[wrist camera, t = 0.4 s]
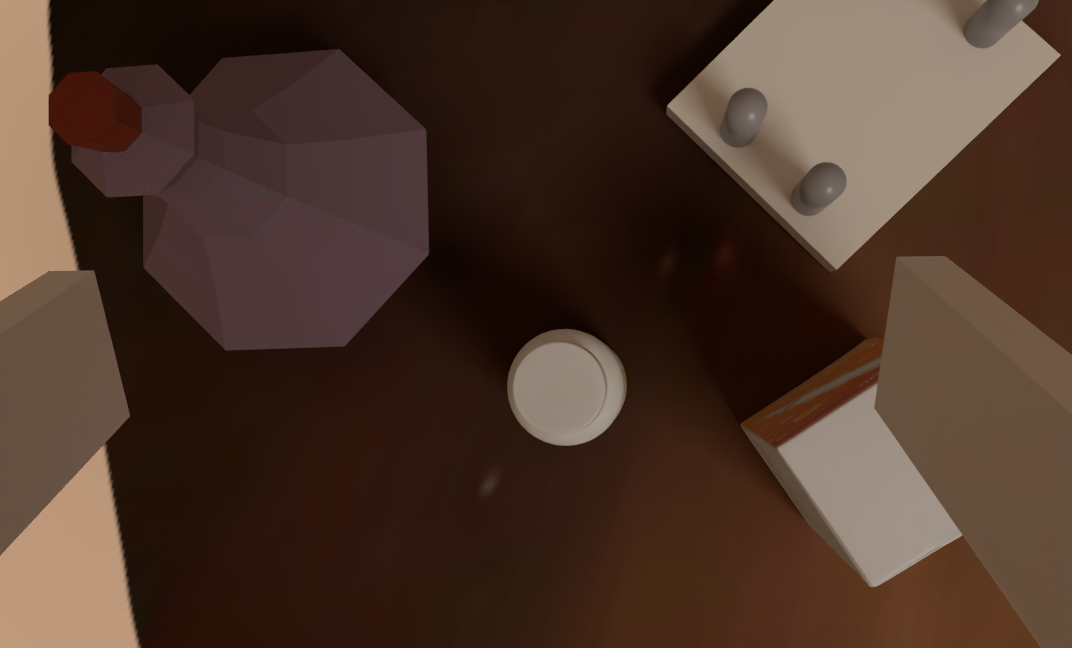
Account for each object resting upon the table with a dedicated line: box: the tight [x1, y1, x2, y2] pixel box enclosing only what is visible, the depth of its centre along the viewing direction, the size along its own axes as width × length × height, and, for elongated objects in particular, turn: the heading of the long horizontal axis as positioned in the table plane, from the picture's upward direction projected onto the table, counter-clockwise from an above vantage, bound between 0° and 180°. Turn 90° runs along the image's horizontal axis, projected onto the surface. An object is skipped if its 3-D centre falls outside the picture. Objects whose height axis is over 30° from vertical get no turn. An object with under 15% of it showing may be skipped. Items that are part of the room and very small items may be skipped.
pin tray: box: [666, 0, 1061, 273], centre depth 42 cm, size 12×15×6 cm
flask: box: [49, 49, 429, 350], centre depth 38 cm, size 16×16×20 cm
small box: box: [741, 337, 962, 587], centre depth 37 cm, size 8×6×13 cm
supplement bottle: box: [507, 329, 627, 446], centre depth 41 cm, size 5×5×10 cm
